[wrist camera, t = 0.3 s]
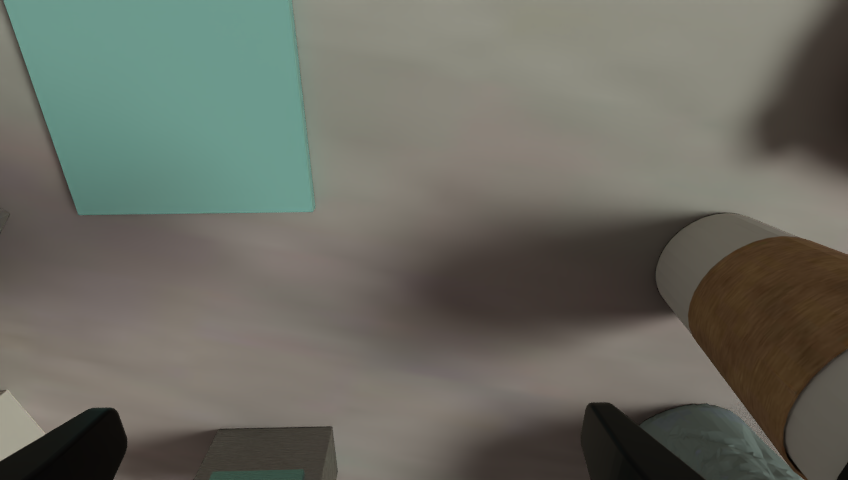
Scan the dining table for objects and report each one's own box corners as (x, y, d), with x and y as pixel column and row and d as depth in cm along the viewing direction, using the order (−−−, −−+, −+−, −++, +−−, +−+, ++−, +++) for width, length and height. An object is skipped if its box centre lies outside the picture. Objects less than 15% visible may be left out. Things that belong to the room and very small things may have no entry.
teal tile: (315, 207, 22) (312, 211, 21) (87, 210, 21) (78, 214, 21) (285, -61, 17) (280, -65, 17) (-5, -61, 17) (-19, -64, 16)
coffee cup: (598, 286, 24) (848, 618, 10) (717, 155, 21) (1287, 369, 7) (705, 353, 26) (1035, 703, 12) (827, 241, 23) (1436, 534, 9)
